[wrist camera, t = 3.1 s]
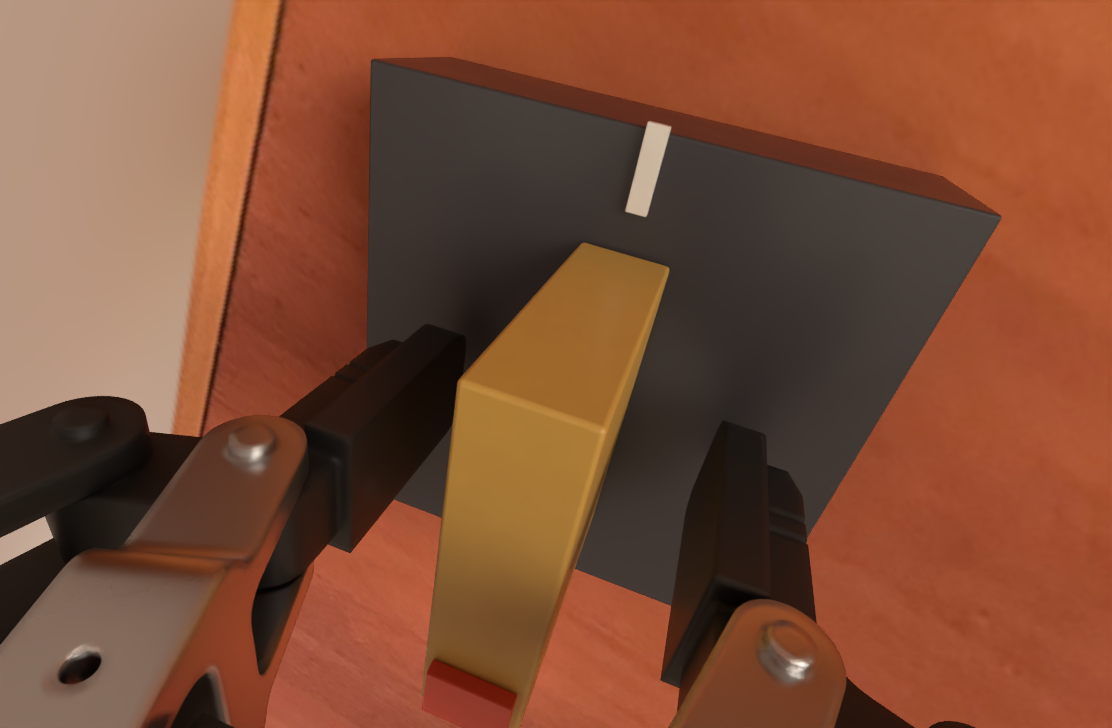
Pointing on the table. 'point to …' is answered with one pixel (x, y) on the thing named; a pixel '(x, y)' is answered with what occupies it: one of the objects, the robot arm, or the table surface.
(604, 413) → the lock knob
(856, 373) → the plate
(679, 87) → the table surface
